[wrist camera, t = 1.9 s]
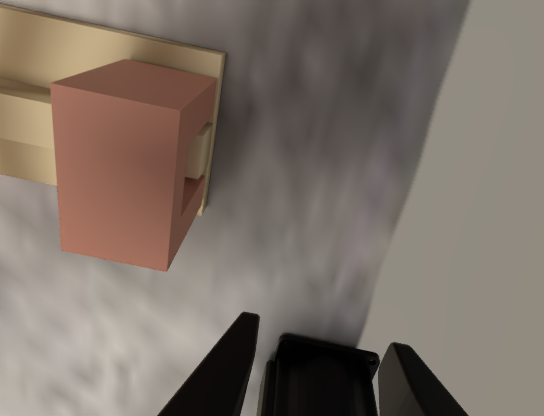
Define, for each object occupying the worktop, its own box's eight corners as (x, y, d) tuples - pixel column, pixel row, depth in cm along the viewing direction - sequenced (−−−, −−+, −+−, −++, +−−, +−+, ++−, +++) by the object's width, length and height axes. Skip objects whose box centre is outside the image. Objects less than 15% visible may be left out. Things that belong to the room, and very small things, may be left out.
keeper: (217, 78, 17) (180, 110, 12) (201, 204, 20) (166, 271, 15) (124, 58, 17) (50, 83, 12) (122, 187, 20) (61, 250, 15)
